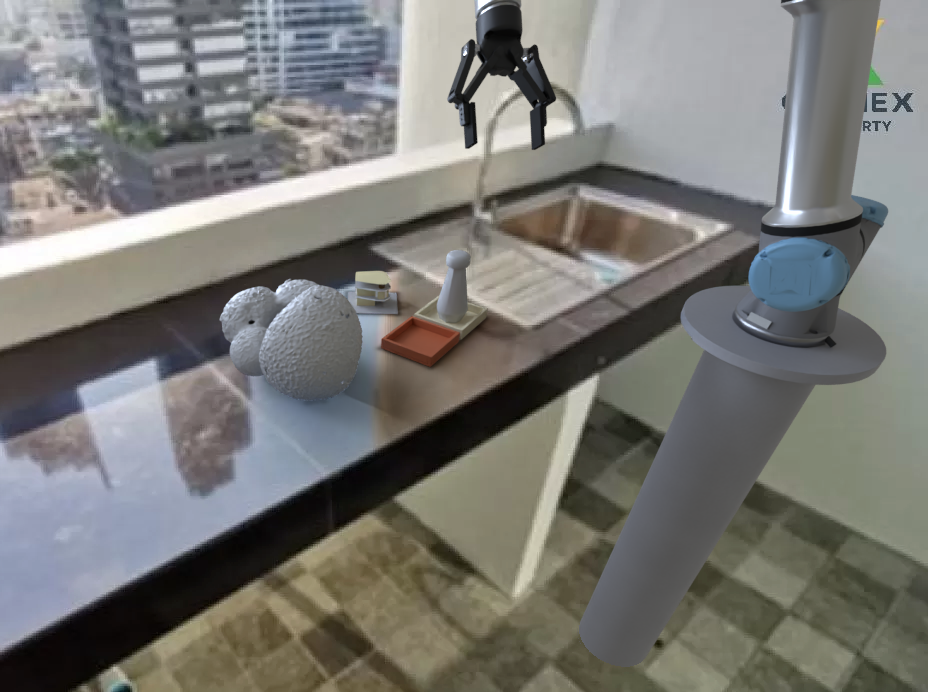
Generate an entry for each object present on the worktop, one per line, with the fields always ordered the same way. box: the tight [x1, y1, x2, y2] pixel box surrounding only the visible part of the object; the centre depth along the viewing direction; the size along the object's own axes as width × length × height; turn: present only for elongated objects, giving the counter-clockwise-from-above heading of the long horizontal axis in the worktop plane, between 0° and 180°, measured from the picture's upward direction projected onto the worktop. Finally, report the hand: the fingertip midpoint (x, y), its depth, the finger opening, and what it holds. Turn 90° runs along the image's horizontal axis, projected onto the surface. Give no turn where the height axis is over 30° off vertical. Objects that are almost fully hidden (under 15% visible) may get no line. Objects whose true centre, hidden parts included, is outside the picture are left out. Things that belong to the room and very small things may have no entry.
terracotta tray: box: [380, 315, 460, 368], centre depth 108 cm, size 10×10×2 cm
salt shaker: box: [437, 249, 472, 323], centre depth 111 cm, size 6×6×13 cm
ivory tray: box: [413, 294, 489, 341], centre depth 115 cm, size 10×10×2 cm
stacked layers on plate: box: [347, 270, 399, 315], centre depth 120 cm, size 10×9×6 cm
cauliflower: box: [219, 278, 363, 402], centre depth 96 cm, size 20×25×22 cm
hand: (505, 146), depth 105 cm, fingers open, 13 cm apart
